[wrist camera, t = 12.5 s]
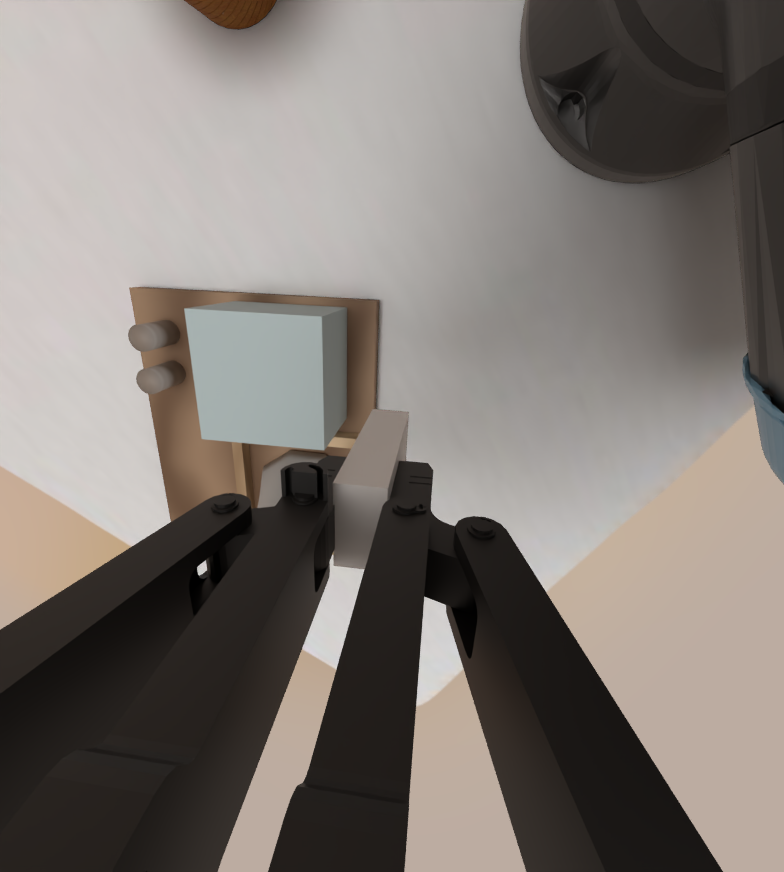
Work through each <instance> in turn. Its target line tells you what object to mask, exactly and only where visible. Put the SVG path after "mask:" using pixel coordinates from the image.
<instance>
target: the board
mask: <svg viewBox="0 0 784 872" xmlns="http://www.w3.org/2000/svg"><path fill="white" fill-rule="evenodd" d="M129 289H130V294H131V300H132V305H133V311H134V317H135V322H136V325H134V326H132V327H131V328H130V330H129V333H128V337H129V341H130V343H131V344H132V346H133V347H134V348H135V349H137V350H139V351H141V356H142V362H143V367H144V369H143V370H141V371H139V372H138V374H137V377H136V380H137V384H138V386H139V387H140V389H141V390H142V391H144V392H145V393H148V395H149V401H150V407H151V412H152V418H153V423H154V429H155V435H156V440H157V446H158V451H159V457H160V463H161V468H162V474H163V480H164V485H165V491H166V496H167V502H168V508H169V513H170V519H171V522H172V521H173V520H175V519H177V518H178V517H180V516H181V515H183V514H185V513H186V512H188V511H189V510H191V509H192V508H194V507H196V506H197V505H199V504H200V503H202V502H204V501H205V500H207V499H209V498H211V497H213V496H217V495H221V494H224V493H228V494H229V493H235V494H242V495H244V496H247V497H248V498H249V499H250V500H251V507H252V508H258V502H259V496H260V488H261V479H262V471H263V466H265V465H267V464H268V463H270V462H272V461H273V460H275V459H277V458H278V457H280V456H281V455H283V454H285V453H286V452H288V451H290V450H293V451H302V452H311V453H320V454H326V455H327V456H328V455H330V456H341V457H347V456H348V454H349V452H350V450H351V448H352V447H353V445H354V443H355V441H356V439H357V437H358V435H359V434H360V432H361V430H362V428H363V426H364V424H365V422H366V421H367V419H368V417H369V415H370V413H371V411H372V409H376V392H377V359H378V326H379V300H370V299H351V298H333V297H315V296H296V295H278V294H259V293H241V292H223V291H204V290H186V289H167V288H149V287H132V288H129ZM232 301H244V302H261V303H279V304H297V305H314V306H332V307H347V418H346V420H345V421H344V423H343V424H342V426H341V427H340V428H339V430H338V431H337V433H336V434H335V436H334V437H333V439H332V440H331V441H330V443H329V444H328V446H327V447H326V449H325V450H314V449H304V448H293V447H282V446H271V445H260V444H249V443H238V442H227V441H217V440H206V439H202V437H201V430H200V422H199V415H198V407H197V400H196V392H195V385H194V378H193V370H192V363H191V355H190V348H189V340H188V333H187V326H186V318H185V311H184V308H191V307H198V306H205V305H212V304H219V303H225V302H232ZM332 555H334V551H333V554H332Z"/></svg>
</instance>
